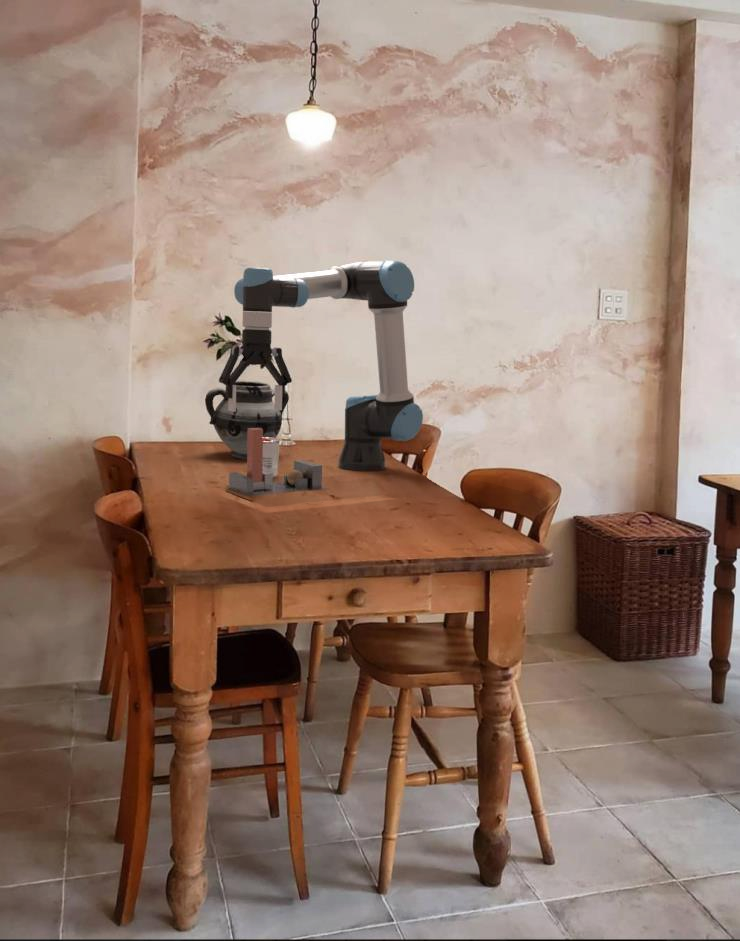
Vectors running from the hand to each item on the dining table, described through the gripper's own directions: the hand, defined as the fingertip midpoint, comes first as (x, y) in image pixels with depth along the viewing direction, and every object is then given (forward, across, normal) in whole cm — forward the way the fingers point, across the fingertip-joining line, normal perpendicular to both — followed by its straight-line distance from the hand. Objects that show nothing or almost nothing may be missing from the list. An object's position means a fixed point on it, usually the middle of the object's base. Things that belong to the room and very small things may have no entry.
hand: (255, 410), depth 244 cm
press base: (+23, -7, 0) cm, 24 cm away
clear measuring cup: (+23, -13, -18) cm, 32 cm away
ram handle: (+21, -1, 0) cm, 21 cm away
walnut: (+21, -13, 0) cm, 25 cm away
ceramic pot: (+23, -28, -58) cm, 68 cm away
